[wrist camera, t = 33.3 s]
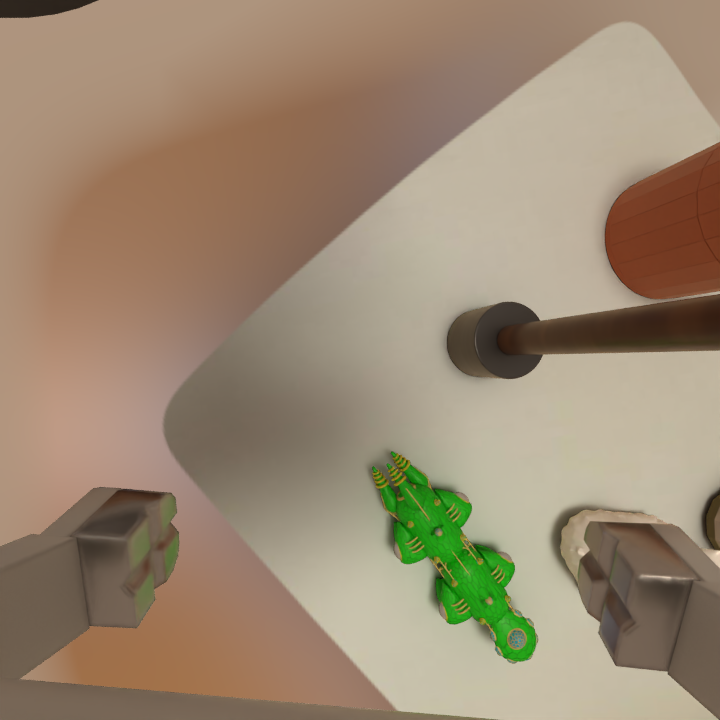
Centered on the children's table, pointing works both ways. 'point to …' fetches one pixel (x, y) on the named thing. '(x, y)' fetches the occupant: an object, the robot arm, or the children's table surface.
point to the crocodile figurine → (455, 558)
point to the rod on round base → (577, 334)
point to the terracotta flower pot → (669, 230)
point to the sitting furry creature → (575, 529)
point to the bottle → (714, 523)
